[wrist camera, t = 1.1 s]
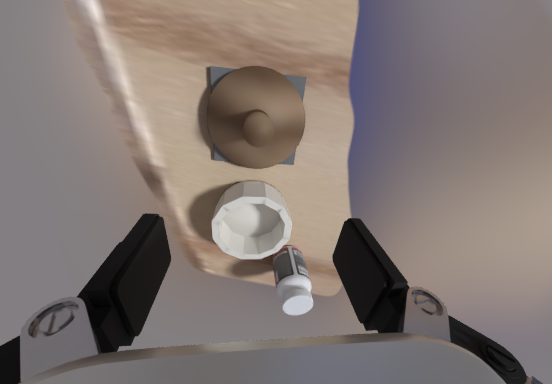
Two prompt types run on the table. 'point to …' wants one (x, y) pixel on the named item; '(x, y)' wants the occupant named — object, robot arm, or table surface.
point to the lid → (256, 117)
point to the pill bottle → (292, 280)
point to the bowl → (251, 220)
